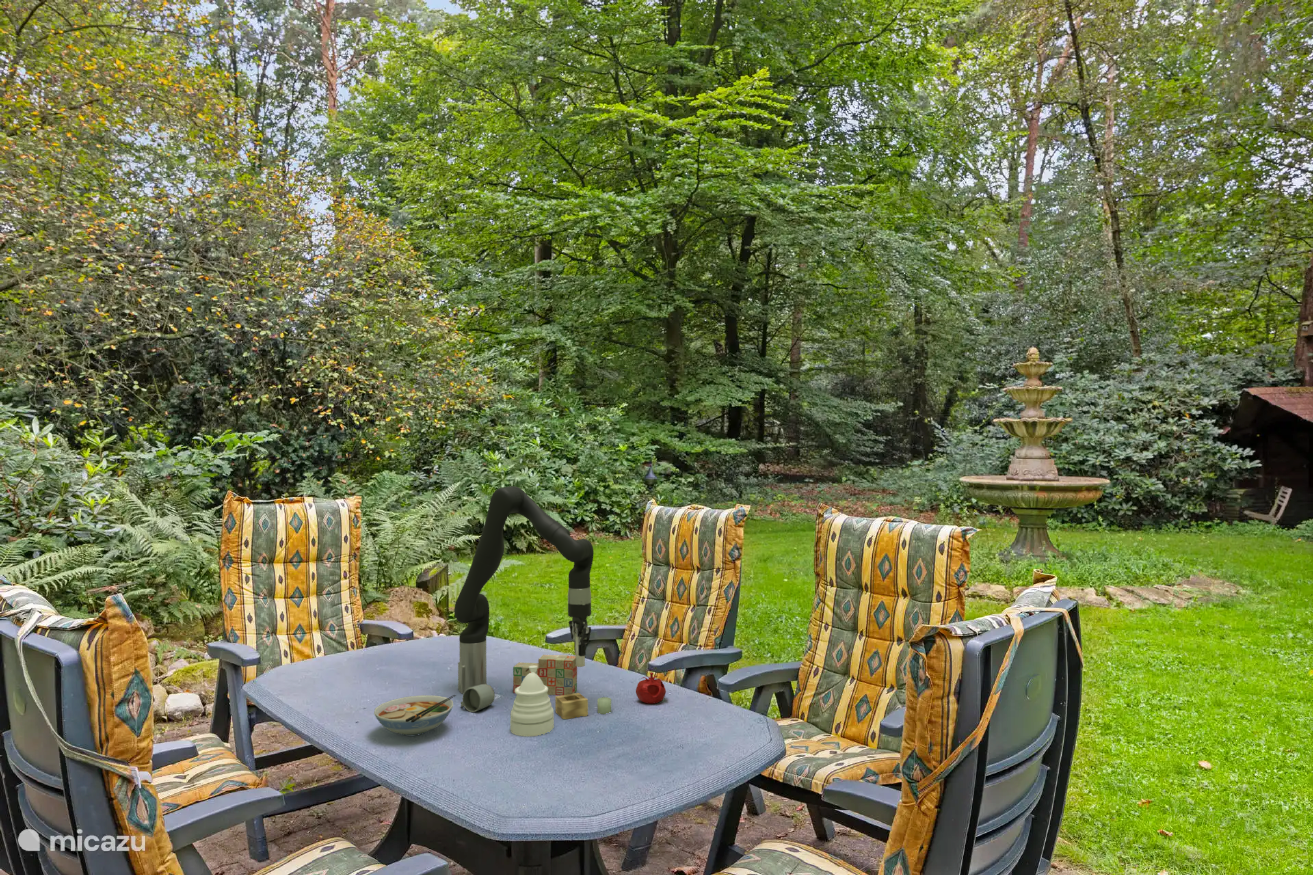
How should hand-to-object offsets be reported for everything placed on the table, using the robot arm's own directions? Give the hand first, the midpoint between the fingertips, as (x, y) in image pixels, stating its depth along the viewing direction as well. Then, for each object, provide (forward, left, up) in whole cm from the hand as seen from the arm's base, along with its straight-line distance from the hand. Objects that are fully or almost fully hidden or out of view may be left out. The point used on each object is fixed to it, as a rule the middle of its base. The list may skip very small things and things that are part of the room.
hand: (580, 654), depth 251 cm
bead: (+5, -7, -17) cm, 20 cm away
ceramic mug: (-30, +16, -18) cm, 38 cm away
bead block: (-5, -4, -17) cm, 18 cm away
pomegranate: (+23, -4, -18) cm, 30 cm away
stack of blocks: (-5, +22, -18) cm, 29 cm away
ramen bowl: (-52, +3, -18) cm, 55 cm away
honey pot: (-20, -11, -18) cm, 29 cm away
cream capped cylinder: (0, 0, -4) cm, 4 cm away
